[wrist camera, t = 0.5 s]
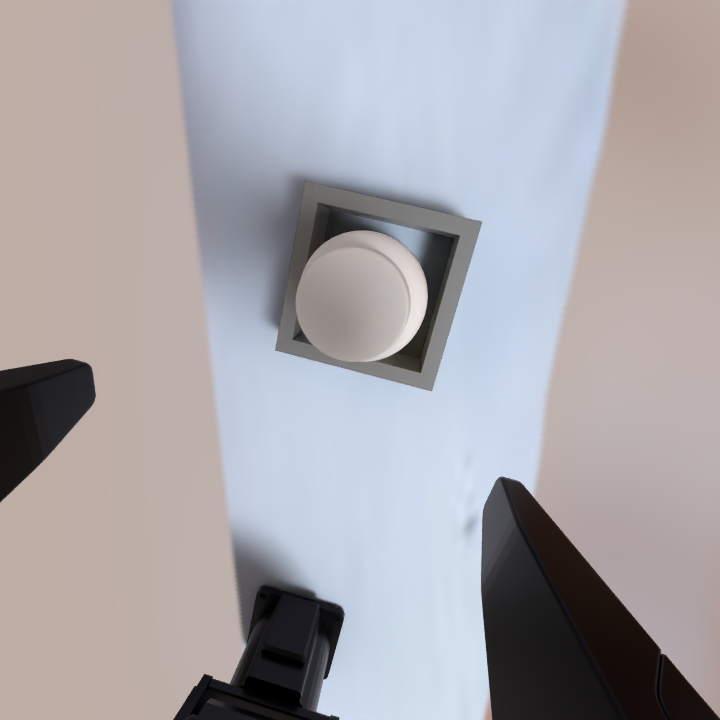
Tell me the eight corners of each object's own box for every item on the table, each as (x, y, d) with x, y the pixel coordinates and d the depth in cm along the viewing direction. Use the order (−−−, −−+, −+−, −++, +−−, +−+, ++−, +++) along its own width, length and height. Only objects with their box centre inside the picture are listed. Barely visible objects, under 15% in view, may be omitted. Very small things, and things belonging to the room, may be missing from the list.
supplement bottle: (311, 284, 24) (243, 302, 14) (378, 215, 22) (351, 186, 13) (374, 350, 24) (348, 411, 15) (444, 288, 23) (464, 311, 13)
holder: (430, 374, 24) (431, 391, 21) (291, 339, 24) (275, 350, 22) (473, 226, 22) (482, 221, 19) (319, 190, 22) (305, 181, 19)
